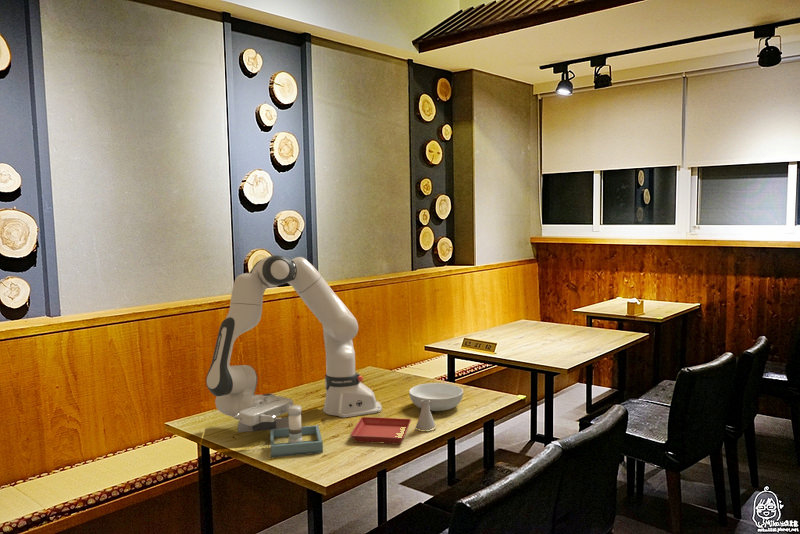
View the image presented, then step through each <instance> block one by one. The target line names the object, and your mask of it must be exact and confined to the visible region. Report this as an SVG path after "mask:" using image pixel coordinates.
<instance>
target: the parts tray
mask: <svg viewBox="0 0 800 534" xmlns="http://www.w3.org/2000/svg"><path fill="white" fill-rule="evenodd" d="M301 428H302V436H305V435H306V436H307V435H315V437H316V439H315V440H313V439H312V440H306V441H305V440H302V443H293V444H289V442H282V443H279V442H278V443H275V438H284V437H289V428H280V429H270V430H269V431H270V432H269V433H270V434H269V435H270V458H271V459H272V457H273V458H283V457H292V456H293V457H294V456H301V455H302V456H303V455H314V454H323V453H324V449H323V448H324V444H323V439H322V434H321V430H320V426H319V425H317V424H315V425H305V426H304V425H303V426H301Z"/></svg>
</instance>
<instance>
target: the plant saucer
mask: <svg viewBox="0 0 800 534" xmlns="http://www.w3.org/2000/svg"><path fill="white" fill-rule="evenodd" d="M411 422H412V419H411V418H394V417H393V418H392V417H376V416H375V417H374V416H373V417H371V416H362V417H360V419H359V420H358V422H357V424H356V425H355V426H354V428H353V430H352V431H351V433H350V434H349V436H350V437H351V438H352V439H353V440H354V442H356V443H371V442H384V443H383V444H392V443H399V444H401V443H400V442H403V441H404V439H405V436H406V433H407V431H408V428H409V426H410V424H411ZM401 427H406V428H405V431H404V434H403V436H402V438H398V437H395V436H398V435H397V434H396V433H401V432H400V431H401V430H400V428H401ZM401 429H402V428H401Z"/></svg>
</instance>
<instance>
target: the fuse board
mask: <svg viewBox="0 0 800 534" xmlns="http://www.w3.org/2000/svg"><path fill="white" fill-rule="evenodd" d="M237 425H238V426H237V433H248V432H257V431H258V432H259V431H270V429H280V428H289V417H288V416H285V417H281V416H280V417H276V421H274V422H262V423H259V424H257V425H254V426H248V425H245V424H243V423H241V422H240V421H239V420H238V424H237Z"/></svg>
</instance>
